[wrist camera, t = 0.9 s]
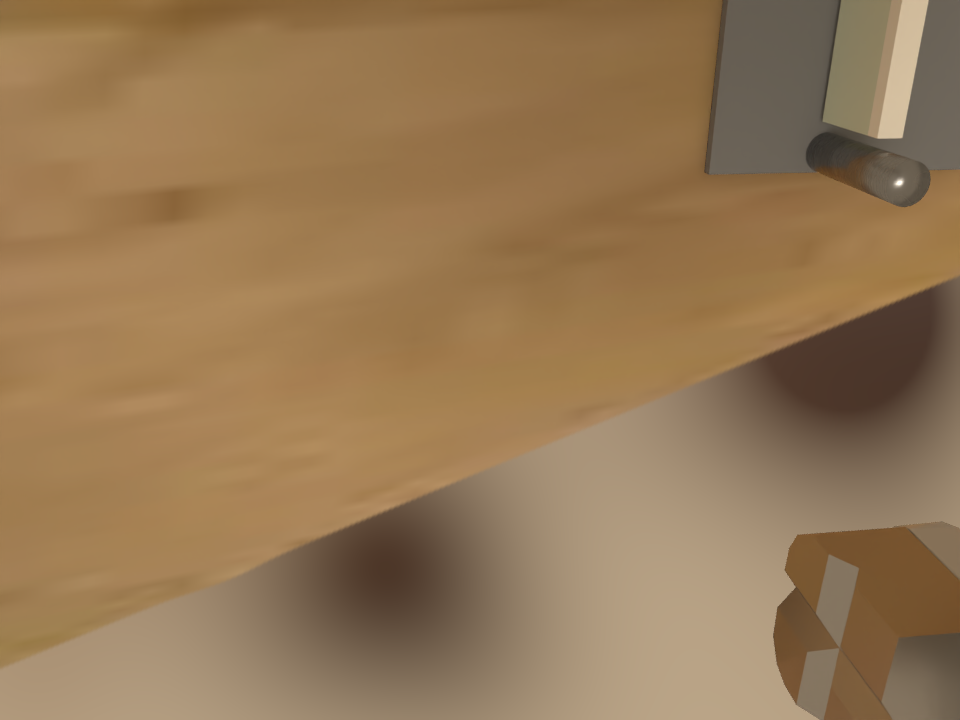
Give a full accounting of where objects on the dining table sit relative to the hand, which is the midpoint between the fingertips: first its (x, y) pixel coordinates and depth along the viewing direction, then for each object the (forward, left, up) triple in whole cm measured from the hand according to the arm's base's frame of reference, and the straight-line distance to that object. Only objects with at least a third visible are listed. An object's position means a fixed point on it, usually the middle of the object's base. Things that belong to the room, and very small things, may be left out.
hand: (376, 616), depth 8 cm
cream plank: (-4, +24, -36) cm, 43 cm away
